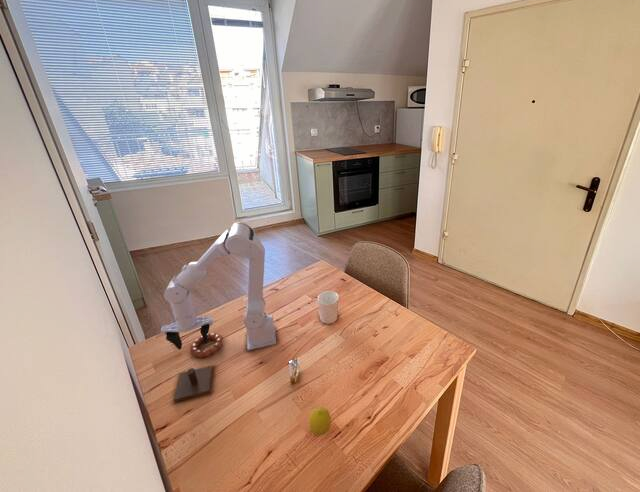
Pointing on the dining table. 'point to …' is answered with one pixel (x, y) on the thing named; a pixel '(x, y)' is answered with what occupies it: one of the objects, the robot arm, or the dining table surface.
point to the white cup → (328, 306)
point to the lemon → (320, 421)
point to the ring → (295, 364)
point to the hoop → (207, 352)
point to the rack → (193, 383)
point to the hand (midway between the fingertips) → (193, 344)
